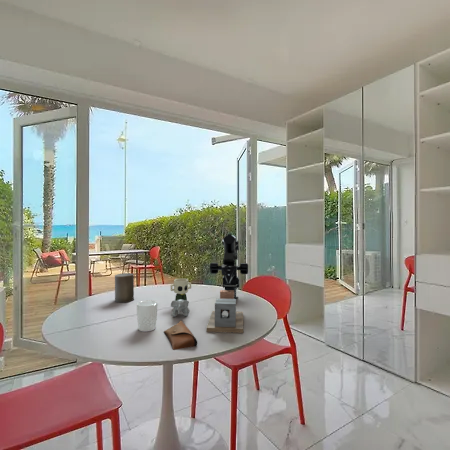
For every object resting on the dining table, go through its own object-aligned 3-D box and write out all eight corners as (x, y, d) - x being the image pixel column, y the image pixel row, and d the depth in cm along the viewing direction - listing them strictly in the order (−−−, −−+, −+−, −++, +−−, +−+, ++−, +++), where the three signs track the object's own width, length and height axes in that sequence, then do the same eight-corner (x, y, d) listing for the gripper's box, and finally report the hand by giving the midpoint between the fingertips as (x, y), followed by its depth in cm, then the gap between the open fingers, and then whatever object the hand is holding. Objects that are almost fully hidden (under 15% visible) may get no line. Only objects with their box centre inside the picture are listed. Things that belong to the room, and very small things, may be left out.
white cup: (146, 333, 104) (146, 307, 104) (132, 329, 109) (132, 303, 109) (161, 327, 111) (161, 302, 111) (147, 323, 115) (147, 299, 115)
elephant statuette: (187, 312, 131) (187, 295, 132) (195, 318, 120) (194, 300, 121) (168, 314, 128) (167, 298, 128) (174, 321, 117) (173, 303, 117)
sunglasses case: (161, 331, 107) (170, 314, 108) (177, 337, 110) (185, 322, 111) (173, 350, 91) (183, 331, 92) (190, 358, 93) (200, 339, 95)
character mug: (172, 309, 135) (172, 282, 135) (168, 305, 141) (168, 279, 141) (193, 306, 140) (193, 280, 140) (188, 302, 146) (188, 277, 146)
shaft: (220, 312, 123) (220, 290, 123) (234, 313, 123) (234, 290, 123) (216, 326, 106) (217, 300, 106) (232, 327, 106) (232, 300, 106)
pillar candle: (137, 299, 152) (137, 271, 152) (122, 303, 144) (122, 274, 144) (126, 297, 157) (125, 270, 157) (110, 300, 149) (110, 272, 149)
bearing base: (212, 314, 128) (212, 291, 128) (243, 314, 127) (243, 291, 127) (206, 331, 107) (206, 304, 107) (243, 332, 106) (243, 305, 106)
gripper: (210, 246, 138) (207, 272, 127) (248, 246, 136) (248, 273, 125) (211, 260, 145) (209, 286, 134) (247, 260, 144) (248, 287, 133)
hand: (228, 283), depth 132 cm, fingers closed
